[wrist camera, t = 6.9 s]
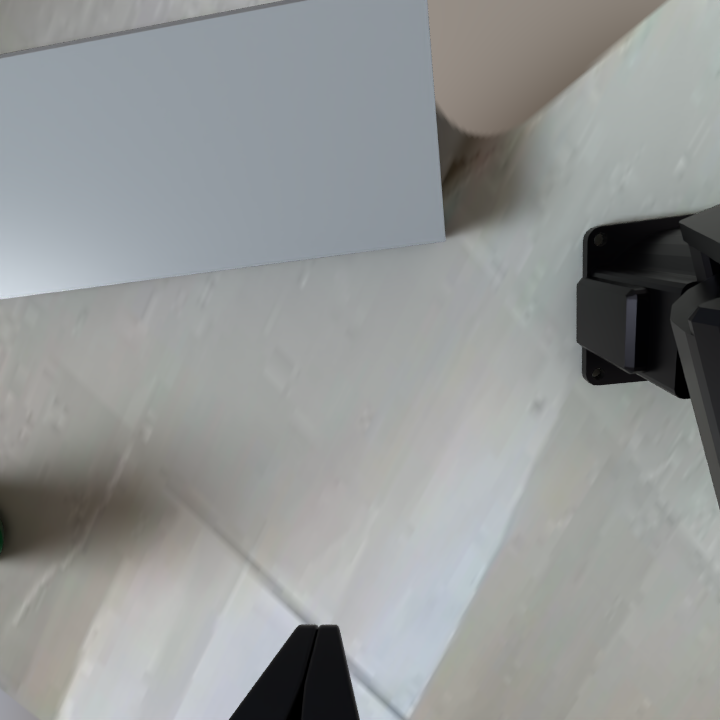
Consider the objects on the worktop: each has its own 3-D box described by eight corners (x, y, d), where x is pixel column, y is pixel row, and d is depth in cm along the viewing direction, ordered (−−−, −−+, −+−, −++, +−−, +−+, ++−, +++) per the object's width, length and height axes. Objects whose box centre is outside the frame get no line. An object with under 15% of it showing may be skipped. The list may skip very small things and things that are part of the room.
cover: (423, -7, 14) (425, -23, 13) (443, 241, 15) (445, 241, 15) (-142, 98, 16) (-170, 90, 15) (-66, 307, 17) (-88, 310, 17)
